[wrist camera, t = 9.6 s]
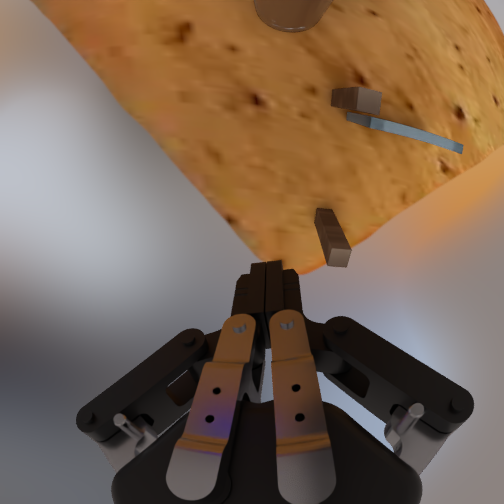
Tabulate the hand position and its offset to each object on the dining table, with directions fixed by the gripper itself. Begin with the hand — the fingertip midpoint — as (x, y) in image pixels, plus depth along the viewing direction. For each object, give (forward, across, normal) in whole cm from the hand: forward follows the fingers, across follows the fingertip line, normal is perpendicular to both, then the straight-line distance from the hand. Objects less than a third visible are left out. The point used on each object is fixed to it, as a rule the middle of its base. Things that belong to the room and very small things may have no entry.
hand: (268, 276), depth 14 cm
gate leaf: (+26, -18, -4) cm, 32 cm away
